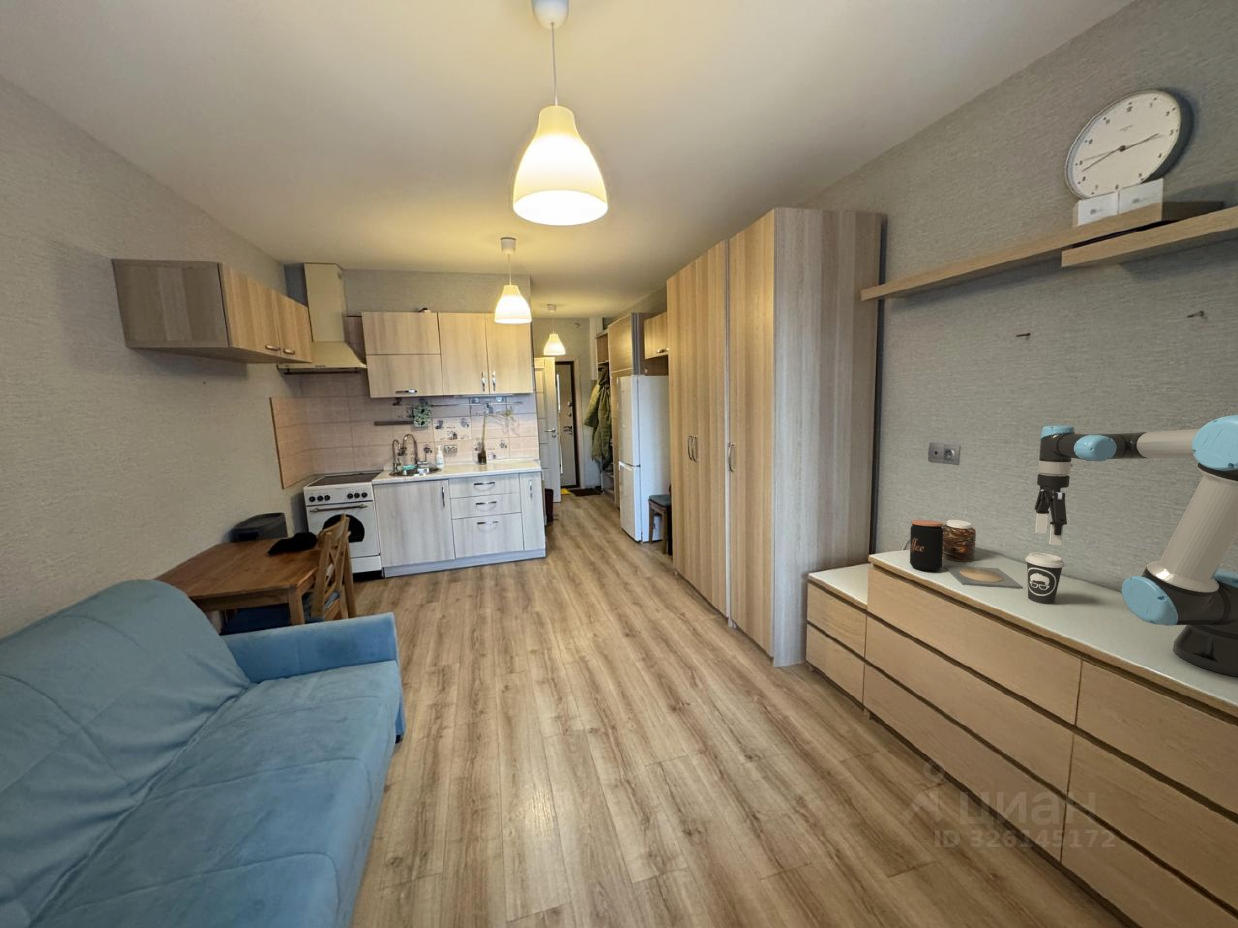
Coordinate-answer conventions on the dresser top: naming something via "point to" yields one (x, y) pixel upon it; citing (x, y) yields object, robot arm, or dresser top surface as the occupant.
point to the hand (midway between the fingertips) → (1047, 538)
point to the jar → (959, 541)
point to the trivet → (982, 576)
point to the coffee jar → (926, 544)
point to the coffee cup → (1043, 576)
